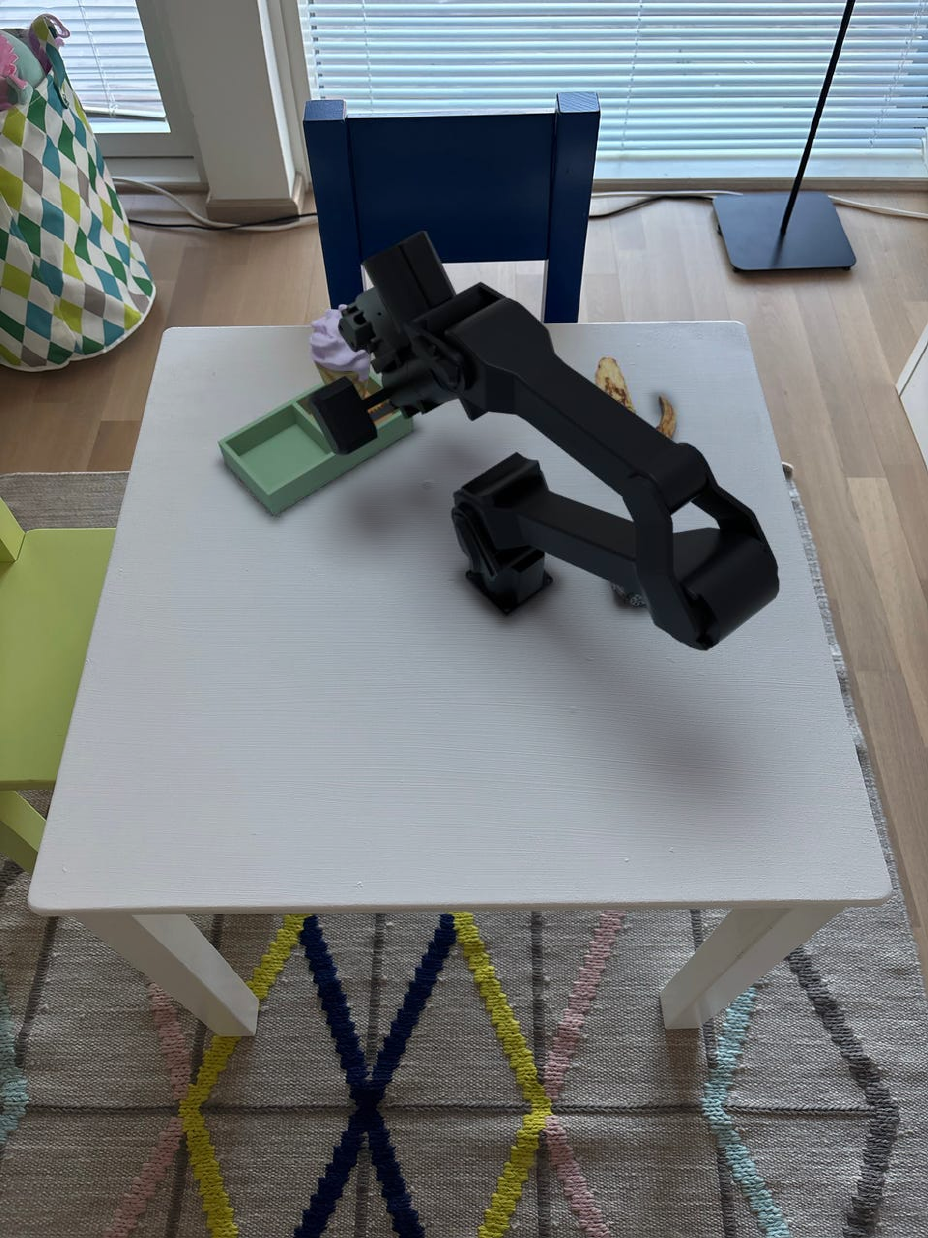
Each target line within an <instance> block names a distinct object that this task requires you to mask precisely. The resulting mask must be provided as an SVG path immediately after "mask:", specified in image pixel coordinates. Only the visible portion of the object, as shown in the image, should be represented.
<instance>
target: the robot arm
mask: <svg viewBox="0 0 928 1238" xmlns="http://www.w3.org/2000/svg"><path fill="white" fill-rule="evenodd" d="M361 265H362V266H363V268H364V270H365V272H366V275H367V276H368V278H369V280H370V282H371V284H372V286H373V287H370V288H369V289H367V290H365V291H362V292H361V293H358V295H357V296H356V297H355V300H354V301H353V302H351V303H349V304H346V305H347V308H345V309H343V310H341V315H342V317H343V318H341V319H340V320H339V324H338V330H339V333H340V334H341V336H342V337H343V339H344V340H345V341H346V343H347V344H348V346H349V347H350V349H351V350H352V351H353V352H356V353H357V352H358V351H360V350H365V351H366V352H367V353H368V354H371V355H372V354H373V356H374V358H373V359H371V361H370V366H371V367H372V369H373V371H374V373H375V375H379V374H381V376H380V380H381V381H382V386H383V388H382V389H381V390H379V391H377V392H375V393H373V394H372V395H370V396H368V397H366V398H364V399H361V397H360V395H359V393H358V391H357V389H356V388H355V386H354V384H353V383H352V382H351V381H350V380H349V379H348V378H347V377H346V376H343V377H341V378H339V379H337V380H335V381H333V382H331V383H330V384H328V385H326V386H324V387H322V388H320V389H318V390H317V391H315V392H313V393H311V394H309V395H308V399H307V403H306V404H307V405H308V407H309V409H310V411H311V413H312V415H313V416H314V418H315V420H316V422H317V424H318V426H319V427H320V429H321V431H322V433H323V435H324V437H325V438H326V440H327V442H328V444H329V446H330V448H331V449H332V451H333V453H334V454H337V455H340V456H345V455H348V454H350V453H352V452H354V451H355V450H357V449H359V448H361V447H362V446H364V445H366V444H368V443H369V442H371V441H373V440H375V439H376V438H378V434H377V427H376V426H375V424H374V422H376V421H377V420H379V419H381V418H383V417H384V416H386V415H388V414H390V413H391V412H393V411H395V410H397V409H400V411H401V413H402V415H403V416H404V418H405V419H409V418H411V417H412V416H413V417H414V416H416V415H418V414H419V413H420V414H421V415H422V416H423V415H426V414H428V413H431V412H432V411H433V410H435V409H437V408H439V407H441V406H442V405H445V404H446V403H449V402H452V401H455V400H459V402H460V404H461V407H462V408H463V409H464V410H463V411H464V412H465V414H466V416H467V418H468V420H469V421H471V422H474V421H476V420H478V419H479V418H481V417H483V416H484V415H486V414H488V413H492V414H493V413H494V414H504V415H513V416H517V417H519V418H521V419H522V420H523V421H525V422H526V423H528V424H529V425H530V426H532V427H533V428H534V429H536V430H537V431H538V432H539V433H541V434H542V435H543V436H544V437H546V438H547V439H548V440H549V441H550V442H552V443H553V444H554V445H556V446H557V447H558V448H559V449H561V450H562V451H563V452H564V453H566V454H567V455H569V456H570V457H571V458H572V459H574V460H575V461H576V462H577V463H579V464H580V465H581V466H582V467H583V468H585V469H586V470H587V471H589V473H591V474H593V476H595V477H596V478H597V479H598V480H599V481H601V482H602V483H604V484H605V485H606V486H608V487H609V488H610V489H611V490H612V491H614V492H615V493H617V494H618V495H619V496H620V497H621V498H622V501H623V503H624V505H625V507H626V509H627V512H628V513H629V515H630V518H631V519H632V520H630V519H629V518H624V517H622V516H619V515H616V514H613V513H611V512H608V511H605V510H602V509H600V508H597V507H595V506H591V505H589V504H586V503H583V502H581V501H578V500H575V499H572V498H570V497H567V496H564V495H562V494H559V493H556V492H553V491H552V490H550V487H549V485H548V481H547V479H546V477H545V474H544V471H543V470H542V468H541V464H540V461H539V460H538V459H530V458H527V457H525V456H523V455H522V454H521V453H520V452H518V451H515V452H514V453H512V454H511V455H509V456H507V457H506V458H504V459H503V460H501V461H499V462H498V463H495V465H493V466H491V467H490V468H489V469H487V470H485V471H483V472H482V473H480V474H479V475H478V476H475V477H474V478H473V479H471V480H470V481H468V482H466V483H465V484H463V485H461V486H460V488H458V489H457V490H455V491H453V493H452V497H453V504H454V506H453V507H451V508H450V509H451V510H450V517H451V521H452V524H453V528H454V531H455V534H456V537H457V541H458V544H459V548H460V549H461V552H462V553H463V554H464V555H465V556H466V557H467V559H468V570H467V571H466V572H465V573H464V574H465V575H464V577H465V579H466V581H467V582H469V584H470V585H472V587H474V588H475V589H476V591H478V592H479V594H481V596H482V597H484V598H485V599H486V600H487V601H488V602H489V604H491V605H492V606H493V607H494V608H495V609H496V610H497V611H498V612H499V613H500V614H501V615H502V616H503V617H509V616H511V615H513V614H514V613H515V612H517V611H518V610H519V609H521V608H522V607H523V606H525V605H526V604H528V603H529V602H531V601H532V600H533V599H534V598H536V597H537V596H538V595H540V594H541V593H542V592H544V591H545V590H546V589H548V588H549V587H551V586H552V585H553V584H554V577H553V576H552V575H550V574H549V572H547V571H546V570H545V569H544V568H545V560H546V554H547V555H550V556H552V557H554V558H556V559H558V560H560V561H563V562H565V563H567V564H570V565H571V566H573V567H576V568H579V569H581V570H582V571H584V572H587V573H589V574H592V575H594V576H596V577H599V578H600V579H602V580H606V581H608V582H609V583H611V584H613V583H614V584H616V585H618V586H621V587H623V588H625V589H627V590H629V591H632V592H634V593H636V594H638V595H640V596H641V597H643V599H644V601H645V604H644V605H645V606H646V608H647V611H648V613H649V615H650V618H651V621H652V623H653V624H654V626H655V627H657V628H659V629H660V630H661V631H663V632H665V633H666V634H668V635H669V636H670V637H671V638H673V640H675V641H677V642H678V643H680V644H684V645H685V646H687V647H688V648H692V649H694V650H696V651H697V650H698V651H701V652H702V651H703V652H708V651H709V650H710V649H712V648H714V647H715V646H717V645H719V644H720V643H721V642H722V641H724V640H725V639H727V637H728V636H730V635H731V634H732V633H734V632H735V631H736V630H738V629H739V628H740V627H741V626H742V625H744V624H746V622H747V621H749V620H750V619H752V618H753V617H754V616H755V615H756V614H758V613H759V612H761V610H763V609H764V608H765V607H766V606H768V605H769V604H770V603H771V602H773V601H774V600H776V599H777V596H778V594H779V592H780V585H781V581H780V578H779V565H778V562H777V558H776V556H775V554H774V552H773V550H772V547H771V546H770V544H769V541H768V539H767V537H766V535H765V533H764V530H763V529H762V525H761V524H760V522H759V519H758V518H757V515H756V513H755V511H754V510H752V508H750V507H749V506H748V505H747V504H745V503H743V502H742V501H741V500H739V499H738V498H737V497H735V496H734V495H732V494H731V493H730V492H729V491H728V490H726V489H724V488H723V487H721V486H720V485H719V483H718V481H717V479H716V477H715V475H714V473H713V471H712V469H711V467H710V464H709V461H708V460H707V459H706V457H705V456H704V454H703V453H702V452H701V451H700V450H699V449H698V448H697V447H696V446H694V445H693V444H690V443H689V442H682V441H679V442H678V443H677V442H676V441H674V440H673V439H672V438H668V437H667V436H666V435H664V434H663V433H662V432H660V431H659V430H657V429H656V426H654V425H652V424H651V423H649V422H648V421H646V420H645V419H643V417H641V416H639V415H638V414H637V413H636V414H635V413H634V412H632V411H631V410H630V409H628V408H627V407H626V406H624V405H623V404H621V403H620V402H619V401H617V400H616V399H614V398H613V397H612V396H610V395H609V394H608V393H606V392H605V391H603V390H602V389H601V388H599V387H598V386H596V384H595V382H593V381H591V380H590V379H588V378H587V377H585V376H584V375H583V374H581V372H579V371H577V370H576V369H574V368H573V367H571V366H570V365H569V364H567V363H566V362H565V361H564V360H563V358H561V357H560V356H559V355H558V354H556V352H555V348H554V344H553V340H552V337H551V332H550V330H549V328H547V326H545V325H544V324H543V323H542V322H541V321H540V320H539V319H538V318H537V317H536V316H535V315H534V314H533V313H532V312H531V311H530V310H529V309H527V307H525V305H523V304H522V303H520V302H519V301H517V300H515V299H513V298H511V297H507V296H506V295H504V294H502V293H500V292H499V291H498V290H496V289H494V288H493V287H491V286H489V285H488V284H486V283H484V282H482V281H479V282H477V283H475V284H473V285H472V286H470V287H467V288H465V289H464V290H462V291H460V292H458V293H457V292H456V289H455V288H454V285H453V283H452V282H451V280H450V277H449V275H448V274H447V272H446V269H445V267H444V266H443V265H444V264H443V263H442V261H441V259H440V257H439V255H438V253H437V251H436V249H435V247H434V244H433V242H432V240H431V238H430V236H429V234H428V232H427V231H426V230H425V231H424V230H421V231H418V232H416V233H414V234H412V235H410V236H409V237H407V238H405V239H403V240H402V241H400V242H398V243H396V244H394V245H392V246H390V247H388V248H386V249H384V250H382V251H380V252H378V253H376V254H374V255H372V256H370V257H368V258H366V259H365V260H364V261H363V262H362V263H361ZM387 399H389V400H390V401H388V404H387V403H384V405H385V406H384V405H381V408H380V407H377V409H378V410H377V409H374V412H373V411H370V413H371V414H370V413H369V412H368V410H369V409H371V408H373V407H375V406H376V405H378V404H380V403H382V402H383V401H385V400H387ZM690 503H691V504H692V505H694V506H695V507H697V508H698V509H700V510H701V511H703V513H705V514H707V515H708V516H710V517H711V518H712V519H714V520H715V522H716V524H717V526H718V528H717V527H712V526H711V527H710V526H709V527H708V526H707V527H701V528H695V529H689V530H683V531H677V532H674V522H673V517H672V516H673V515H674V514H676V513H677V512H678V511H680V510H681V509H683V508H684V507H686V505H687V506H688V505H689V504H690ZM470 575H471V576H470Z"/></svg>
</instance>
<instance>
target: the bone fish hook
mask: <svg viewBox="0 0 928 1238" xmlns="http://www.w3.org/2000/svg"><path fill="white" fill-rule="evenodd" d="M624 377H625V376H623V373H622V370H621V367H620V366H619V365H618V363H617V360H616V359H614V358H613V357H602V358H601V359H600V360H599V361H598V362H597V370H596V371H595V373H594V379H595V380H594V381H595V382H594V384H595V385H596V386H598V387H599V388H601V389H602V390H603V391H605V392H606V393H608V394H609V395H610V396H612V397H613V398H614V399H616V400H617V401H619V402H620V403H621V404H623V405H624V406H626V407H627V408H628V409H630V410H631V411H632V412H634V413H635V414H637V412H636V410H635V408H634V405H633V402H632V399H631V397H630V394H629V391H628V387H627V384H626V380H625V378H624ZM658 402H659V406H660V409H661V413H662V415H661V419H660V422H659V424H658V425H657V426H655V428H656V429H657V430H659V431H660V432H662V433H663V434H664V435H666V436H667V437H668V438H670V439H672V437H673V435H674V433H675V429H676V425H677V414H676V411H675V409H674V407H673V405H672V404H671V403H670V401H668V400H667V399H666V398H665V397H664V396H662V395H659V396H658Z"/></svg>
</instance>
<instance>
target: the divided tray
mask: <svg viewBox="0 0 928 1238" xmlns="http://www.w3.org/2000/svg"><path fill="white" fill-rule="evenodd" d="M324 386H325V384H324V382H323V381H321V382H320V383H318V384H316V385H314V386H313V387H311V388H309V389H307V390H305V391H303V392H302V393H300V394H298V395H296V396H295V397H293V398H291V399H290V400H288V401H285V403H283V404H281V405H279V406H278V407H276V408H274V409H272V410H271V411H269V412H267V413H265V414H263V415H262V416H260V417H258V418H256V419H255V420H253V421H251V422H249V423H248V424H246V425H245V426H242V427H241V428H239V429H237V430H236V431H233V432H231V433H230V434H229V435H227V436H225V437H223V438H221V439H219V440H218V441H217V443H218V446H219V449H220V453H221V455H222V458H223V461H224V464H225V465H226V466H227V467H228V468H229V469H230V470H231V471H232V472H233V473H234V474H235V476H236V477H238V479H239V480H240V481H241V482H242V483H243V484H244V485H245V486H246V487H247V489H249V490H250V491H251V493H252V494H253V495H254V496H255V497H256V498H257V499H258V500H259V501H260V502H261V503H262V505H263V506H265V508H266V509H267V510H268V511H269V512H270V513H271V514H272V516H277V515H278V514H280V513H281V512H283V511H285V510H286V509H288V508H290V507H291V506H292V505H294V504H296V503H298V502H299V501H301V500H303V499H304V498H307V496H309V495H311V494H313V493H314V492H316V491H317V490H318V489H320V488H322V487H324V486H326V485H327V484H328V483H330V482H331V481H333V480H335V479H336V478H338V477H340V476H342V475H343V474H344V473H346V472H347V471H350V470H351V469H352V468H355V467H356V466H358V465H359V464H361V463H363V462H364V461H366V460H367V459H369V458H371V457H372V456H373V455H375V454H377V453H378V452H380V451H382V450H383V449H385V448H386V447H388V446H390V445H391V444H393V443H395V442H396V441H398V440H400V439H401V438H403V437H405V436H407V434H409V433H410V432H411V433H412V431H414V430H415V427H414V416H412V417H411V418H409V419H405V418H404V416H403V415H402V413H401V411H400V409H397V410H395V411H393V412H391V413H390V414H388V415H386V416H384V417H383V418H381V419H379V420H377V421H376V422H374V424H375V426H376V427H377V434H378V438H376V439H375V440H373V441H371V442H369V443H368V444H366V445H364V446H362V447H361V448H359V449H357V450H355V451H354V452H352V453H350V454H348V455H345V456H340V455H337V454H334V453H333V451H332V449H331V448H330V446H329V444H328V442H327V440H326V438H325V437H324V435H323V433H322V431H321V429H320V427H319V426H318V424H317V422H316V420H315V418H314V416H313V415H312V413H311V411H310V409H309V407H308V405H307V404H306V403H307V399H308V395H309V394H311V393H313V392H315V391H317V390H318V389H320V388H322V387H324ZM382 388H383V386H382V381H381V378H379V377H378V375H377V374H376V373H375V374H374V372H373V371H371V370H370V372H369V379H368V385H367V390H366V395H365V398H366V397H368V396H370V395H372V394H373V393H375V392H377V391H379V390H381V389H382ZM388 401H390V400H389V399H387V400H385V401H383V402H382V403H380V404H378V405H376V406H375V407H373V408H371V409H369V410H368V412H369V413H370V411H373V412H374V409H377V407H380V408H381V405H384V403H387V404H388ZM384 406H385V405H384ZM377 410H378V409H377ZM370 414H371V413H370Z"/></svg>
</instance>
